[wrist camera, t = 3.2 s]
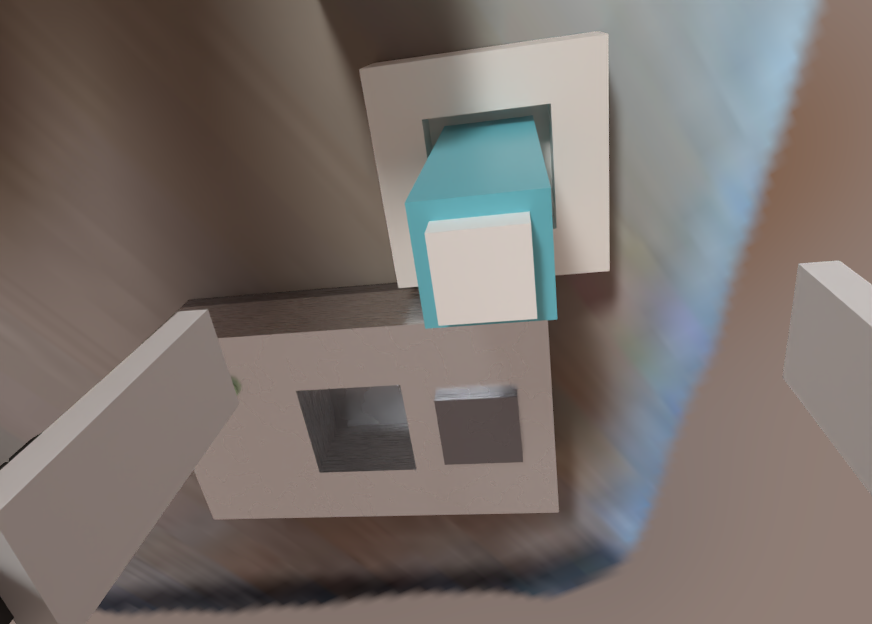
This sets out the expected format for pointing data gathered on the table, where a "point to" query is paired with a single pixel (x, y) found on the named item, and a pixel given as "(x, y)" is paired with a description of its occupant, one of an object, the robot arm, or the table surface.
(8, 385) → the table surface
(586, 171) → the holster
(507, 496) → the port panel
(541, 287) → the plug
